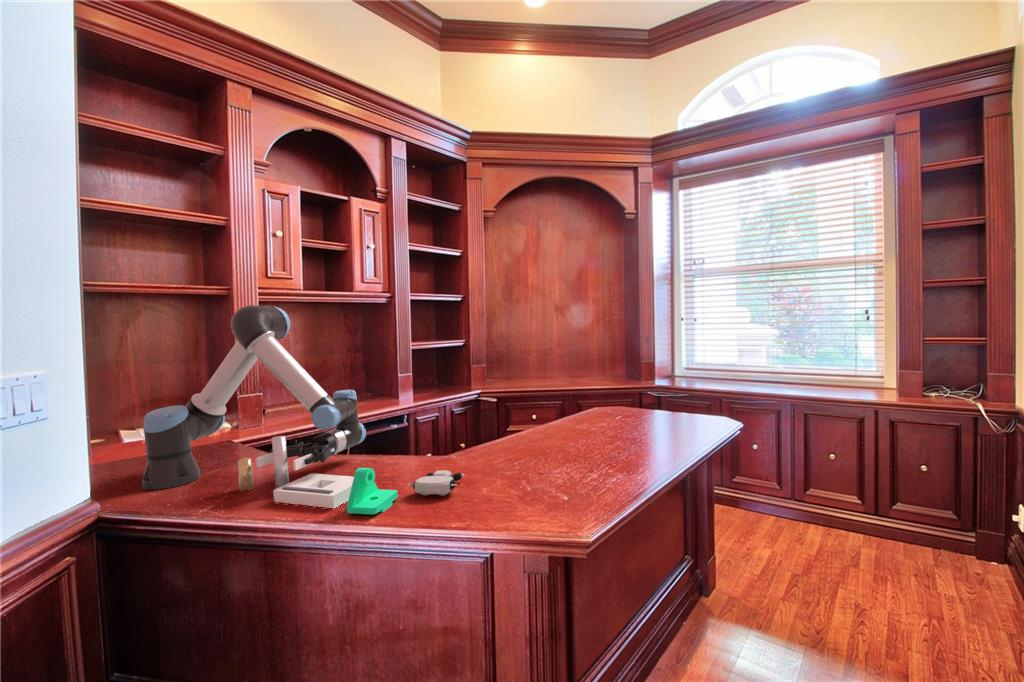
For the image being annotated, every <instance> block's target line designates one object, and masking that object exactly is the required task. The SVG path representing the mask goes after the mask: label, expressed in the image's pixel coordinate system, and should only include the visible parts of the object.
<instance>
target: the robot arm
mask: <svg viewBox="0 0 1024 682" xmlns="http://www.w3.org/2000/svg"><path fill="white" fill-rule="evenodd" d="M230 330H231V332H232V335H233V336H234V338H235V339H236V340H237V341H236V342H235V343H234V344H233V346H232V348H231V349H230V351H229V352H228V353H227V355H226V356H225V358H224V359H223V360H222V362H221V363H220V365H219V366H218V367H217V369H216V370H215V372H214V373H213V375H212V376H211V378H210V379H209V380H208V382H207V383H206V385H205V386H204V387H203V389H202V391H201V392H200V393H195V394H193V395H192V396H191V398H190V399H189V400H188V402H187V403H186V404H185V405H181V404H179V405H170V406H165V407H162V408H157V409H154V410H151V411H149V412H147V413H146V414H145V415H144V416H143V425H142V428H143V429H142V430H143V434H144V435H143V436H144V443H145V445H144V446H145V452H146V461H147V462H146V465H145V469H144V472H143V476H142V480H141V483H142V484H141V485H142V489H144V490H148V491H149V490H150V491H151V490H154V491H156V490H165V489H169V488H176V487H180V486H183V485H186V484H189V483H192V482H194V481H197V480H198V479H200V477H201V470H200V468H199V465H198V464H197V462H196V460H195V458H194V456H193V453H192V444H191V443H192V442H193V441H197V440H199V439H202V438H206V437H209V436H211V435H213V434H215V433H216V432H218V431H219V430H220V429H221V428H222V426H223V425H224V423H225V421H226V416H225V414H226V412H227V407H226V404H227V403H229V400H230V399H231V398H232V396H233V395H234V394H235V392H236V391H237V389H238V387H239V386H240V385H241V384H242V382H243V381H244V379H245V378H246V376H247V375H248V374H249V372H250V370H251V369H252V368H253V367H254V365H255V364H256V362H257V361H258V360H260V361H261V362H262V364H264V366H265V367H267V369H268V370H269V371H270V372H271V373H272V374H273V375H274V376H275V378H277V379H278V380H279V381H280V383H282V385H284V387H286V388H287V390H288V391H289V392H290V393H291V394H292V395H293V396H294V397H295V398H296V399H297V400H298V402H299V403H301V404H302V406H303V407H305V408H306V410H308V412H309V413H310V414H311V422H312V424H313V426H315V428H317V429H319V430H323V431H324V430H329V431H325V432H323V433H320V434H317V435H315V436H314V437H313V438H312V439H311V442H306V443H305V444H303V443H301V442H300V443H297V444H294V445H289V446H286V447H287V459H288V458H293V457H294V458H295V457H298V458H296V459H293V461H292V462H293V471H298V470H301V469H303V468H305V467H308V466H309V465H312V464H315V463H316V464H317V463H319V462H320V463H326V461H327V460H328V459H329V458H330V457H331V456H333V455H334V456H336V455H337V454H338V453H340V452H342V451H344V450H347V449H350V448H353V447H355V446H357V445H359V444H361V443H362V442H363V441H364V440H365V438H366V436H367V430H366V428H365V425H363V423H361V422H360V421H359V412H358V411H359V410H358V399H357V392H356V390H354V389H342V390H335V391H334V392H333V395H332V397H331V396H330V394H328V393H327V391H326V390H325V389H324V388H323V387H322V386H321V385H320V384H319V383H318V382H317V381H316V380H315V379H314V378H313V377H312V376H311V375H310V374H309V373H308V371H306V369H305V368H304V367H303V366H302V365H301V363H299V362H298V361H297V360H296V359H295V358H294V357H293V356H292V354H290V352H289V351H288V350H287V349H286V348H285V347H284V346H283V345H282V344H281V343H280V342H279V340H282V339H283V338H285V337H286V336H287V335H288V334H289V332H290V330H291V321H290V318H289V315H288V314H287V312H286V311H285V310H284V309H282V308H280V307H277V306H273V305H255V304H253V305H251V304H250V305H244V306H242V307H240V308H239V309H237V310H236V311H235V312H234V313H233V315H232V317H231V320H230ZM333 428H334V429H333ZM330 429H331V430H330ZM301 453H302V454H301ZM273 463H274V461H273V449H271V450H269V453H267V454H263V455H261V456H258V457H256V458H255V464H256V468H261V467H264V466H267V465H269V464H273Z"/></svg>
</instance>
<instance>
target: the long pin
mask: <svg viewBox="0 0 1024 682" xmlns="http://www.w3.org/2000/svg"><path fill="white" fill-rule="evenodd" d="M271 445H272V446H271V447H272V448H271V450H273V461H274V462H273V470H274V482H275V484H274V485H275V489H277V488H279V487H282V486H284V485H286V484H288V483H290V474H289V473H290V472H289V461H288V460H289V459H288V458H287V447H288V446H287V437H286V435H277V436H273V437H271Z"/></svg>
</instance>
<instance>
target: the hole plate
mask: <svg viewBox="0 0 1024 682" xmlns="http://www.w3.org/2000/svg"><path fill="white" fill-rule="evenodd" d="M353 479H354V476H351V475H336V474H324V473H323V474H322V473H314V472H313V473H312V472H311V473H309V474H307V475H304V476H302V477H300V478H298V479H296V480H293V481H291V482H289V483H288V484H286V485H284V486H282V487H279V488H277V489H276V488H275V489H273V492H272V493H273V502H274V501H275V502H284V503H291V504H302V505H309V506H318V507H326V508H333V509H332V510H335V509H334V508H336V507H337V508H339V507H340V506H339V505H341V504H343V503H344V504H346V503H348V502H347V501H348V500H349V496H350V491H351V487H352V483H353ZM345 502H346V503H345ZM344 504H343V505H344ZM338 506H339V507H338ZM341 506H342V505H341ZM326 508H325V509H326ZM337 508H336V509H337Z"/></svg>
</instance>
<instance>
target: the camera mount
mask: <svg viewBox="0 0 1024 682" xmlns="http://www.w3.org/2000/svg"><path fill="white" fill-rule="evenodd" d="M353 477H354V479H353V483H352V487H351V491H350V496H349V500H348V502H347V503H346V504H347V505H346V512H347V514H357V515H359V514H360V515H376V514H378V513H384V512H385V511H387V510H389V508H391V507H392V506H393V501H395V500H396V499H397V498H398V496H399V495H398V490H396V489H380V488H379V487H378V486H377V483H376V481H375V478H376V472H375V470H374V468H372V467H358V468H357V469H356V470H355V472H354V475H353Z"/></svg>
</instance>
